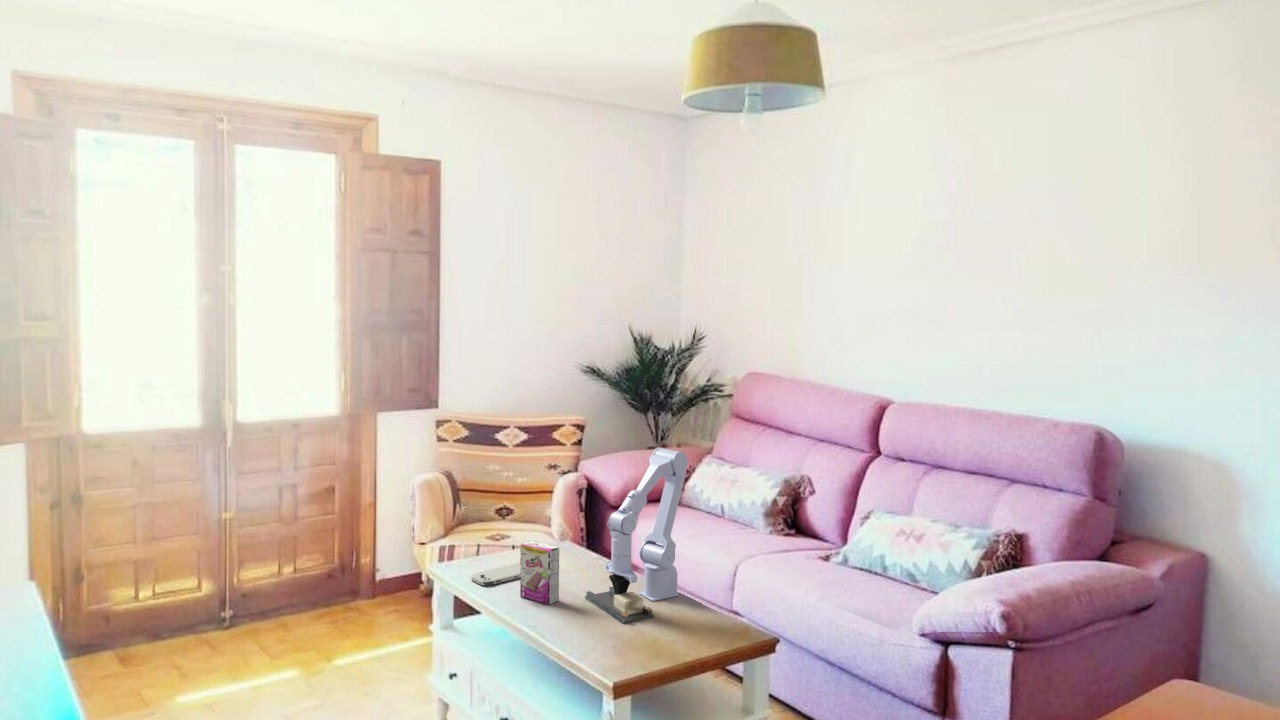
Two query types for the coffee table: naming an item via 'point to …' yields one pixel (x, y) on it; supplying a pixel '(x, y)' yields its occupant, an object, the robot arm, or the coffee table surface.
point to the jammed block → (628, 603)
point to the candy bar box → (539, 572)
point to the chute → (607, 604)
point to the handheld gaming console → (497, 575)
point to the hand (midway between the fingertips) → (620, 599)
